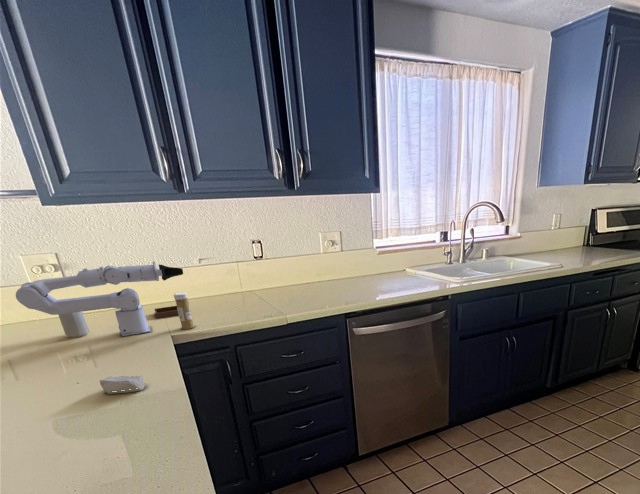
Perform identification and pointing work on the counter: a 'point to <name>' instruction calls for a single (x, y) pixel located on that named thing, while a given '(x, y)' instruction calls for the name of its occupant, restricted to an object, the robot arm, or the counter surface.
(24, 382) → the counter surface
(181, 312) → the sprinkles bottle
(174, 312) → the tray
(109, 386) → the grey rock
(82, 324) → the can
